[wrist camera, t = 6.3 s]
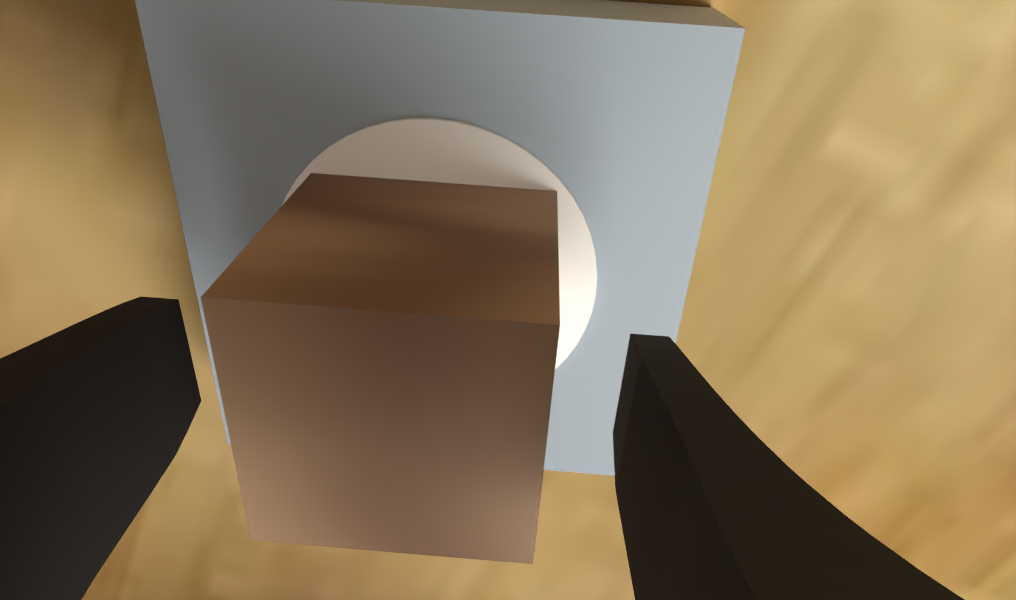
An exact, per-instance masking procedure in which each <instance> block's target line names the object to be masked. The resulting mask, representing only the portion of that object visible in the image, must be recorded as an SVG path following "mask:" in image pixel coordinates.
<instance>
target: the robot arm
mask: <svg viewBox="0 0 1016 600" xmlns="http://www.w3.org/2000/svg"><path fill="white" fill-rule="evenodd" d="M200 402H201V398H200V393H199V389H198V384H197V380H196V375H195V371H194V367H193V362H192V358H191V353H190V349H189V344H188V340H187V335H186V331H185V326H184V322H183V318H182V313H181V309H180V304H179V300H178V299H164V298H151V297H139V298H136V299H133V300H130V301H127V302H125V303H122V304H120V305H117V306H115V307H112V308H110V309H108V310H105V311H103V312H101V313H98V314H96V315H94V316H92V317H90V318H87V319H85V320H83V321H81V322H79V323H76V324H74V325H72V326H70V327H68V328H66V329H64V330H61V331H59V332H57V333H55V334H53V335H51V336H48V337H46V338H44V339H42V340H40V341H38V342H35V343H33V344H31V345H29V346H27V347H25V348H22V349H20V350H18V351H16V352H14V353H12V354H10V355H7V356H5V357H3V358H1V359H0V600H81V599H82V598H83V596H84V594H85V593H86V591H87V589H88V588H89V586H90V584H91V583H92V581H93V579H94V578H95V576H96V575H97V573H98V572H99V570H100V569H101V567H102V566H103V564H104V563H105V561H106V560H107V558H108V557H109V555H110V554H111V552H112V551H113V549H114V548H115V546H116V545H117V543H118V542H119V540H120V539H121V537H122V536H123V534H124V533H125V531H126V530H127V528H128V527H129V525H130V524H131V522H132V521H133V519H134V518H135V516H136V515H137V513H138V512H139V510H140V509H141V507H142V506H143V504H144V503H145V501H146V500H147V498H148V497H149V495H150V494H151V492H152V491H153V489H154V488H155V486H156V485H157V483H158V482H159V480H160V478H161V477H162V475H163V474H164V472H165V471H166V469H167V468H168V466H169V465H170V463H171V461H172V460H173V458H174V457H175V455H176V453H177V451H178V449H179V447H180V445H181V443H182V441H183V439H184V437H185V435H186V433H187V431H188V429H189V427H190V425H191V422H192V420H193V418H194V416H195V413H196V411H197V409H198V407H199V404H200ZM613 450H614V470H615V487H616V494H617V500H618V506H619V512H620V517H621V523H622V529H623V534H624V540H625V545H626V551H627V556H628V562H629V567H630V573H631V578H632V584H633V590H634V595H635V600H964V599H963V598H961V597H959V596H958V595H956V594H955V593H953V592H952V591H950V590H949V589H947V588H946V587H944V586H943V585H941V584H940V583H938V582H937V581H935V580H934V579H932V578H931V577H929V576H928V575H926V574H925V573H923V572H922V571H920V570H919V569H917V568H916V567H915V566H913V565H912V564H910V563H909V562H908V561H906V560H905V559H903V558H902V557H901V556H899V555H898V554H896V553H895V552H894V551H892V550H891V549H890V548H888V547H887V546H885V545H884V544H883V543H881V542H880V541H878V540H877V539H876V538H874V537H873V536H871V535H870V534H869V533H867V532H866V531H865V530H864V529H862V528H861V527H860V526H858V525H857V524H856V523H854V522H853V521H852V520H851V519H849V518H848V517H847V516H845V515H844V514H843V513H842V512H841V511H839V510H838V509H837V508H836V507H835V506H833V505H832V504H831V503H830V502H829V501H827V500H826V499H825V498H824V497H823V496H821V495H820V494H819V493H818V492H817V491H815V490H814V489H813V488H812V487H811V486H809V485H808V484H807V483H806V482H805V481H804V480H803V479H801V478H800V477H799V476H798V475H797V474H796V473H795V472H794V471H793V470H791V469H790V468H789V467H788V466H787V465H786V464H785V463H784V462H783V461H782V460H781V459H780V458H779V457H778V456H777V455H776V454H775V453H774V452H773V451H772V450H771V449H770V448H768V447H767V446H766V445H765V444H764V443H763V442H762V441H761V440H760V439H759V438H758V437H757V436H756V435H755V434H754V433H753V432H752V431H751V430H750V429H749V427H748V426H747V425H746V424H745V423H744V422H743V421H742V420H741V419H740V418H739V417H738V416H737V415H736V414H735V413H734V412H733V410H732V409H731V408H730V407H729V406H728V405H727V404H726V403H725V402H724V401H723V399H722V398H721V397H720V396H719V395H718V394H717V393H716V391H715V390H714V389H713V388H712V387H711V386H710V385H709V383H708V382H707V381H706V380H705V379H704V377H703V376H702V375H701V374H700V373H699V372H698V370H697V369H696V368H695V367H694V366H693V364H692V363H691V362H690V361H689V360H688V358H687V357H686V356H685V355H684V353H683V352H682V351H681V350H680V349H679V347H678V346H677V345H676V344H675V343H674V342H673V340H672V339H671V338H670V337H669V336H656V335H643V334H630V338H629V344H628V349H627V355H626V361H625V366H624V372H623V378H622V383H621V389H620V394H619V400H618V406H617V411H616V417H615V423H614V428H613Z"/></svg>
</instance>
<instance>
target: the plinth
mask: <svg viewBox="0 0 1016 600" xmlns="http://www.w3.org/2000/svg"><path fill="white" fill-rule="evenodd" d="M135 3H136V8H137V13H138V18H139V22H140V27H141V32H142V37H143V41H144V46H145V51H146V56H147V61H148V65H149V70H150V75H151V80H152V84H153V89H154V94H155V99H156V104H157V108H158V113H159V118H160V123H161V127H162V132H163V137H164V142H165V146H166V151H167V156H168V161H169V166H170V170H171V175H172V180H173V185H174V189H175V194H176V199H177V204H178V209H179V213H180V218H181V223H182V228H183V232H184V237H185V242H186V247H187V251H188V256H189V261H190V266H191V271H192V275H193V280H194V285H195V290H196V294H197V299H198V304H199V309H200V314H201V318H202V323H203V328H204V333H205V337H206V342H207V347H208V352H209V356H210V361H211V366H212V371H213V376H214V380H215V385H216V390H217V395H218V399H219V404H220V409H221V414H222V419H223V423H224V428H225V433H226V438H227V442H228V444H231V442H230V437H229V432H228V427H227V423H226V418H225V413H224V408H223V403H222V398H221V394H220V389H219V384H218V379H217V374H216V369H215V365H214V360H213V355H212V350H211V345H210V340H209V335H208V331H207V326H206V321H205V316H204V311H203V306H202V302H201V296H202V295H203V294H204V293H205V292H206V291H207V289H208V288H209V287H210V286H211V285H212V284H213V283H214V282H215V280H216V279H217V278H218V277H219V276H220V275H221V274H222V273H223V271H224V270H225V269H226V268H227V267H228V266H229V265H230V264H231V262H232V261H233V260H234V259H235V258H236V257H237V256H238V255H239V253H240V252H241V251H242V250H243V249H244V248H245V247H246V246H247V244H248V243H249V242H250V241H251V240H252V239H253V238H254V237H255V235H256V234H257V233H258V232H259V231H260V230H261V229H262V228H263V226H264V225H265V224H266V223H267V222H268V221H269V220H270V219H271V217H272V216H273V215H274V214H275V213H276V212H277V211H278V210H279V208H280V207H281V206H282V205H283V204H284V203H285V202H286V201H287V199H288V198H289V197H290V196H291V195H292V194H293V193H294V191H295V190H296V189H297V188H298V187H299V186H300V185H301V184H302V182H303V181H304V180H305V179H306V178H307V177H308V176H309V175H310V173H319V174H332V175H346V176H360V177H373V178H387V179H401V180H414V181H428V182H441V183H455V184H469V185H482V186H496V187H510V188H523V189H537V190H551V191H557V204H558V251H559V298H560V330H559V339H558V347H557V356H556V365H555V374H554V383H553V391H552V400H551V409H550V418H549V427H548V436H547V444H546V453H545V462H544V470H553V471H565V472H577V473H590V474H602V475H614V476H615V470H614V450H613V428H614V423H615V417H616V411H617V406H618V400H619V394H620V389H621V383H622V378H623V372H624V366H625V361H626V355H627V349H628V344H629V338H630V334H643V335H656V336H669V337H670V338H671V339H672V340H673V342H674V343H676V339H677V334H678V330H679V325H680V321H681V316H682V312H683V307H684V303H685V298H686V294H687V289H688V285H689V280H690V276H691V271H692V267H693V262H694V258H695V253H696V249H697V244H698V239H699V235H700V230H701V226H702V221H703V217H704V212H705V208H706V203H707V199H708V194H709V190H710V185H711V181H712V176H713V172H714V167H715V163H716V158H717V154H718V149H719V145H720V140H721V136H722V131H723V127H724V122H725V118H726V113H727V109H728V104H729V100H730V95H731V91H732V86H733V82H734V77H735V72H736V68H737V63H738V59H739V54H740V50H741V45H742V41H743V36H744V32H745V28H744V27H742V26H741V25H739V24H738V23H736V22H735V21H733V20H732V19H730V18H729V17H727V16H725V15H724V14H722V13H721V12H719V11H718V10H716V9H715V8H712V7H698V6H683V5H668V4H653V3H639V2H624V1H609V0H135Z"/></svg>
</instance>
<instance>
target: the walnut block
mask: <svg viewBox="0 0 1016 600" xmlns="http://www.w3.org/2000/svg"><path fill="white" fill-rule="evenodd" d="M201 302H202V306H203V311H204V316H205V321H206V326H207V331H208V335H209V340H210V345H211V350H212V355H213V360H214V365H215V369H216V374H217V379H218V384H219V389H220V394H221V398H222V403H223V408H224V413H225V418H226V423H227V427H228V432H229V437H230V442H231V447H232V452H233V456H234V461H235V466H236V471H237V476H238V481H239V485H240V490H241V495H242V500H243V505H244V510H245V514H246V519H247V524H248V529H249V534H250V539H251V540H252V541H264V542H276V543H288V544H300V545H312V546H324V547H336V548H348V549H360V550H372V551H384V552H396V553H408V554H419V555H431V556H443V557H455V558H467V559H479V560H491V561H503V562H515V563H527V564H533V559H534V550H535V541H536V532H537V524H538V515H539V506H540V497H541V488H542V480H543V471H544V462H545V453H546V444H547V436H548V427H549V418H550V409H551V400H552V391H553V383H554V374H555V365H556V356H557V347H558V339H559V330H560V298H559V251H558V204H557V191H551V190H537V189H523V188H510V187H496V186H482V185H469V184H455V183H441V182H428V181H414V180H401V179H387V178H373V177H360V176H346V175H332V174H319V173H310V175H309V176H308V177H307V178H306V179H305V180H304V181H303V182H302V184H301V185H300V186H299V187H298V188H297V189H296V190H295V191H294V193H293V194H292V195H291V196H290V197H289V198H288V199H287V201H286V202H285V203H284V204H283V205H282V206H281V207H280V208H279V210H278V211H277V212H276V213H275V214H274V215H273V216H272V217H271V219H270V220H269V221H268V222H267V223H266V224H265V225H264V226H263V228H262V229H261V230H260V231H259V232H258V233H257V234H256V235H255V237H254V238H253V239H252V240H251V241H250V242H249V243H248V244H247V246H246V247H245V248H244V249H243V250H242V251H241V252H240V253H239V255H238V256H237V257H236V258H235V259H234V260H233V261H232V262H231V264H230V265H229V266H228V267H227V268H226V269H225V270H224V271H223V273H222V274H221V275H220V276H219V277H218V278H217V279H216V280H215V282H214V283H213V284H212V285H211V286H210V287H209V288H208V289H207V291H206V292H205V293H204V294H203V295H202V296H201Z"/></svg>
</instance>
